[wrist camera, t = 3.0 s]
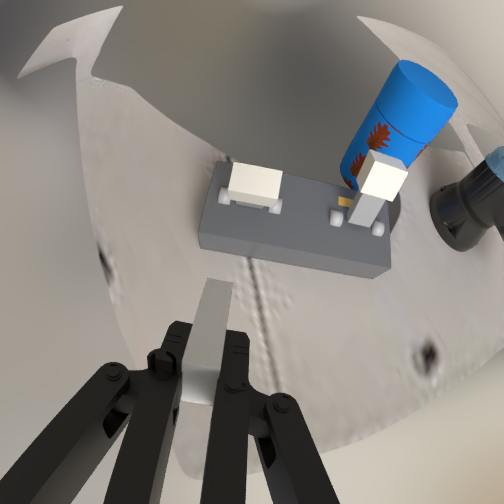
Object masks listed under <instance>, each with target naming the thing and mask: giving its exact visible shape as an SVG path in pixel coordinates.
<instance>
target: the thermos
mask: <svg viewBox="0 0 504 504" xmlns="http://www.w3.org/2000/svg"><path fill="white" fill-rule="evenodd" d="M457 106H458V103H457V99H456V97H455V96H454V94H453V92H452V91H451V90H450V89H449V88H448V86H447V85H446V84H445V83H444V82H443V81H442V80H441V79H439V78H438V77H437V76H436V75H435V74H433V73H432V72H430V71H429V70H428V69H426V68H424V67H422V66H421V65H419V64H417V63H414V62H411V61H407V60H401V61H399V62H398V63H397V64H396V66H395V67H394V69H393V70H392V72H391V73H390V75H389V77H388V79H387V81H386V82H385V84H384V86H383V88H382V90H381V91H380V93H379V95H378V97H377V99H376V100H375V102H374V104H373V106H372V107H371V109H370V111H369V113H368V115H367V116H366V118H365V120H364V121H363V123H362V125H361V126H360V128H359V130H358V132H357V133H356V135H355V137H354V139H353V140H352V142H351V144H350V145H349V147H348V149H347V151H346V153H345V155H344V157H343V159H342V162H341V165H340V171H341V175H342V177H343V179H344V181H345V183H346V184H347V185H348V186H349V187H350V188H351V189H352V190H356V191H358V189H359V186H358V183H357V180H356V179H357V176H358V174H359V172H360V170H361V167H362V165H363V163H364V161H365V158H366V156H367V154H368V152H369V149H371V150H374V151H377V152H380V153H382V154H385V155H388V156H391V157H394V158H397V159H399V160H402V162H403V164H404V166H405V167H406V169H407V168H408V167H409V166H410V165H411V164H412V163H413V161H414V160H415V159H416V158H417V157H418V156H419V155H420V153H421V152H422V151H423V150H424V149H425V148H426V147H427V145H428V144H429V143H430V142H431V141H432V140H433V138H434V137H435V136H436V135H437V133H438V132H439V131H440V130H441V129H442V128H443V126H444V125H445V124H446V123H447V122H448V120H449V119H450V118H451V117H452V115H453V113H454V112H455V110H456V108H457Z"/></svg>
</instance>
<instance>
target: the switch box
mask: <svg viewBox="0 0 504 504" xmlns="http://www.w3.org/2000/svg"><path fill="white" fill-rule="evenodd" d="M232 168H233V163H227V162H221V161H217V162H216V166H215V169H214V173H213V177H212V180H211V184H210V187H209V191H208V195H207V199H206V202H205V206H204V210H203V214H202V218H201V222H200V226H199V230H198V236H199V242H200V248H201V249H207V250H212V251H218V252H223V253H229V254H234V255H240V256H245V257H251V258H256V259H262V260H267V261H273V262H278V263H284V264H289V265H295V266H300V267H306V268H312V269H317V270H323V271H329V272H334V273H340V274H345V275H351V276H357V277H363V278H368V279H373V278H375V277H377V276H379V275H380V274H382V273H384V272H386V271H388V270H389V269H391V248H390V229H389V215H388V204H387V200H385V202H384V204H383V205H382V207H381V209H380V211H379V212H378V214H377V216H376V218H375V219H374V221H373V223H372V224H371V226H370V228H369V227H365V226H361V225H357V224H353V223H348V220H347V215H346V214H347V212H348V210H349V208H350V206H351V204H352V202H353V200H354V198H355V196H356V194H357V191H356V190H352V189H348V188H344V187H340V186H337V185H332V184H328V183H324V182H320V181H316V180H312V179H307V178H303V177H299V176H294V175H289V174H285V173H282V178H281V184H280V190H279V195H278V200H277V201H276V202H275V204H274V205H273V206H272V207H267V206H264V207H263V208H262V209H259V208H254V207H248V206H243V205H238V204H236V201H235V200H229V194H228V188H229V183H230V178H231V173H232Z"/></svg>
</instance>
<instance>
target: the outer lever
mask: <svg viewBox="0 0 504 504" xmlns="http://www.w3.org/2000/svg"><path fill="white" fill-rule="evenodd" d="M281 178H282V171H279V170H274V169H269V168H264V167H259V166H254V165H248V164H243V163H237V162H234V164H233V168H232V173H231V178H230V183H229V188H228V194H229V200H235V201H236V204H238V205H243V206H248V207H254V208H259V209H262V208H263V207H264V206H267V207H272V206H273V205H274V204H275V202H276V201H277V200H278V195H279V190H280V184H281Z"/></svg>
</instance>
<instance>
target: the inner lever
mask: <svg viewBox="0 0 504 504" xmlns="http://www.w3.org/2000/svg"><path fill="white" fill-rule="evenodd" d="M407 174H408V171H407V169H406V167H405V166H404V164H403V162H402V160H399V159H397V158H394V157H391V156H388V155H385V154H382V153H380V152H377V151H374V150H371V149H369V152H368V154H367V156H366V158H365V161H364V163H363V165H362V167H361V170H360V172H359V174H358V176H357V179H356V180H357V183H358V186H359V189H358V191H357V194H356V196H355V198H354V200H353V202H352V204H351V206H350V208H349V210H348V212H347V214H346V215H347V220H348V223H353V224H357V225H361V226H365V227H369V228H370V226H371V224H372V223H373V221H374V219H375V218H376V216H377V214H378V212H379V211H380V209H381V207H382V205H383V204H384V202H385V200H389V201H393V199H394V198H395V196H396V194H397V192H398V191H399V189H400V187H401V185H402V183H403V182H404V180H405V178H406V176H407Z"/></svg>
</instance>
